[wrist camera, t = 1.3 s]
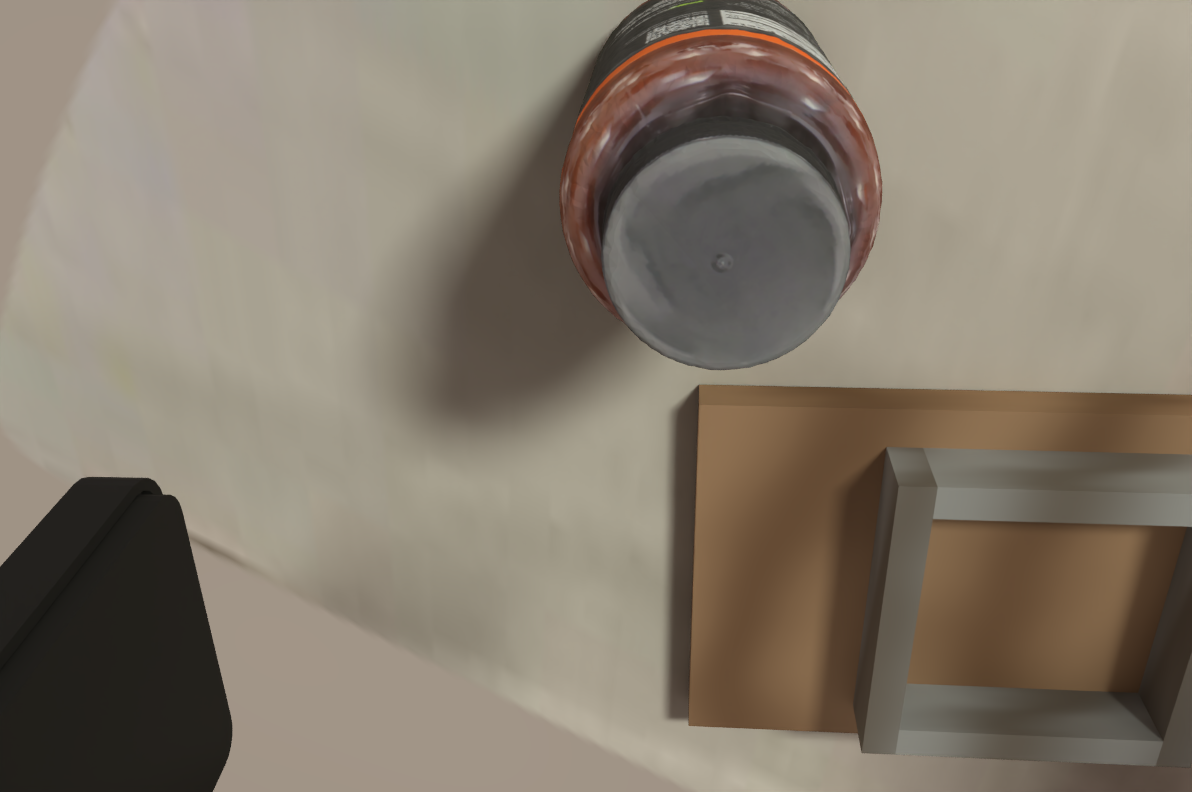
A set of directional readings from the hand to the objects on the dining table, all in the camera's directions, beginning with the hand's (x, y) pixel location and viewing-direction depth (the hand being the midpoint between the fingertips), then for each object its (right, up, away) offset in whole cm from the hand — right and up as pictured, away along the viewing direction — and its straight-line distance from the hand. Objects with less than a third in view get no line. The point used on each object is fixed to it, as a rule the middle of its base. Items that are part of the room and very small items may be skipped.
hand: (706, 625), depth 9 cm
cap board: (+12, -3, +23) cm, 26 cm away
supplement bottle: (+2, +9, +18) cm, 20 cm away
